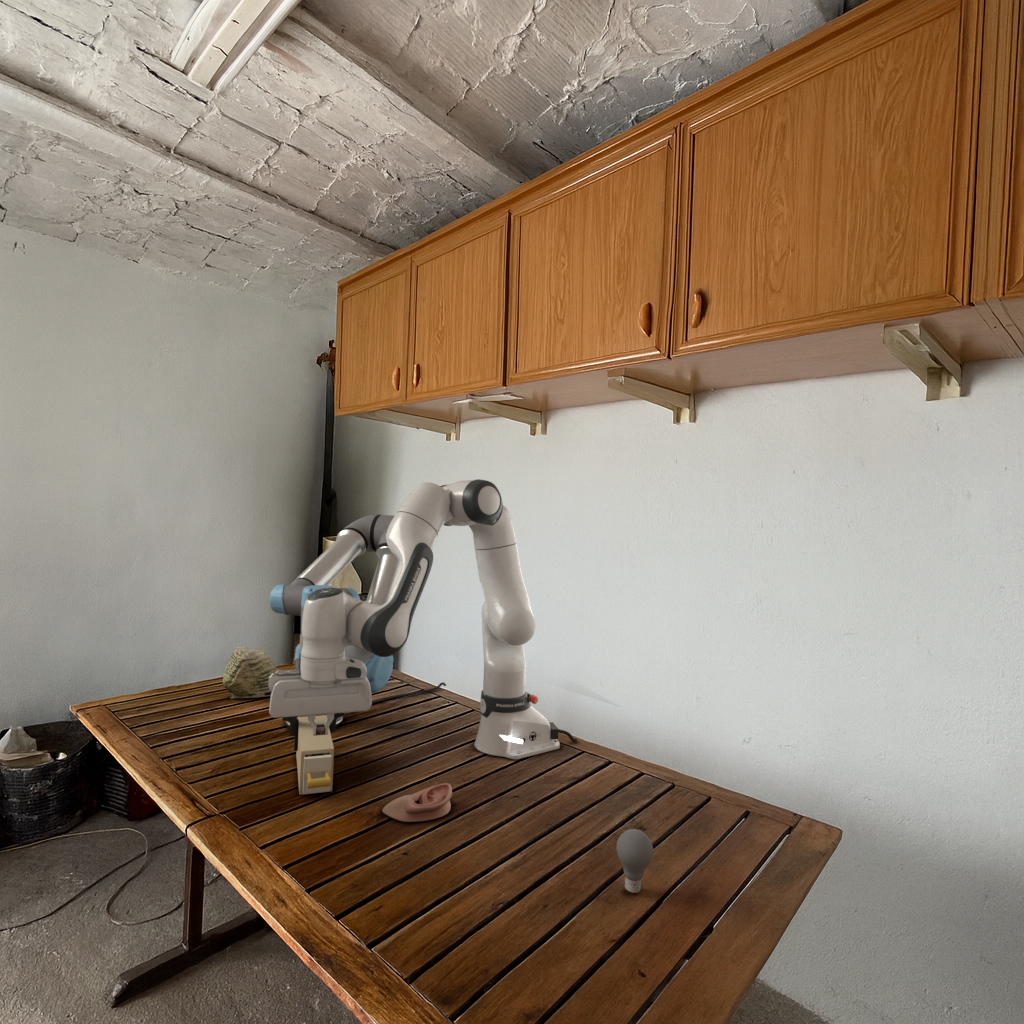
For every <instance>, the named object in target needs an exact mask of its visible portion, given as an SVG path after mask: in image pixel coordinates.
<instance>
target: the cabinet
mask: <svg viewBox="0 0 1024 1024" xmlns="http://www.w3.org/2000/svg"><path fill="white" fill-rule="evenodd" d="M298 719H299V730H298V751H295V752H296V755H295V757H296V766H297V767H296V769H297V782H298V793H299V796H303V795H304V794H303V773H304V757H305V755H310V754H321V753H327V755H331V756H332V761H331V786H330V791H329V792H333V785H334V784H333V783H334V782H333V781H334V780H333V779H334V757H335V747H334V742H333V737H332V733H330V729H329V727H328V735H318V736H313V727H312V726H311V724H310V722H309V721H308V717H298ZM326 720H327V716H326V715H322V716H315V720H314V722H315V723H316V725H321V724H325V722H326Z"/></svg>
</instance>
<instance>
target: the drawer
mask: <svg viewBox="0 0 1024 1024" xmlns="http://www.w3.org/2000/svg"><path fill="white" fill-rule="evenodd" d="M331 761H332V756H331V755H327V753H321V754H310V755H305V757H304V773H303V795H310V794H319V793H328V792H329V793H330V792H331V791H330V786H331Z"/></svg>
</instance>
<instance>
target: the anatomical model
mask: <svg viewBox="0 0 1024 1024" xmlns="http://www.w3.org/2000/svg"><path fill="white" fill-rule="evenodd" d="M452 795H453V788H452V785H451V784H450V783H447V782H445V783H444V782H443V783H440V784H436V785H433V786H429V787H426V788H424V789H422V790H419V791H417V792H415V793H411V794H405V795H402V796H399V797H397V798H395V799H393V800H391V801H390V802H388V803H387V804H386V805H384V806H383V808H382V813H383V814H384V815H386V816H387V817H389V818H392V819H394V820H396V821H400V822H402V823H415V822H425V821H430V820H431V821H432V820H436V819H438V818H442V817H444V816H445V815H447V814H448V813H449V812H450V811H451V808H452V803H451V799H452Z"/></svg>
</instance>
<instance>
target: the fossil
mask: <svg viewBox="0 0 1024 1024" xmlns="http://www.w3.org/2000/svg"><path fill="white" fill-rule="evenodd" d="M278 670H280V669H279V668H278V667H277V665H276V663H275V662H274V660H273V659H272V658H271V657H270V656H269V655H268V654H267V653H266V652H265V650H264V649H263V648H260V647H258V648H251V647H247V646H246V647H245V646H238V647H237V648H236V649H235V650H233V651H232V653H231V656H230V657H229V659H228V660H227V663H226V666H225V668H224V671H223V675H222V676H223V677H222V685H223V687H224V688H225V690H226V691H228V693H229V698H230V699H250V698H264V697H271V692H270V691H269V688H268V680H269V677H270V676H271V675H272V674H273V673H275V672H277V671H278ZM274 676H277V674H276V675H274Z"/></svg>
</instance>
